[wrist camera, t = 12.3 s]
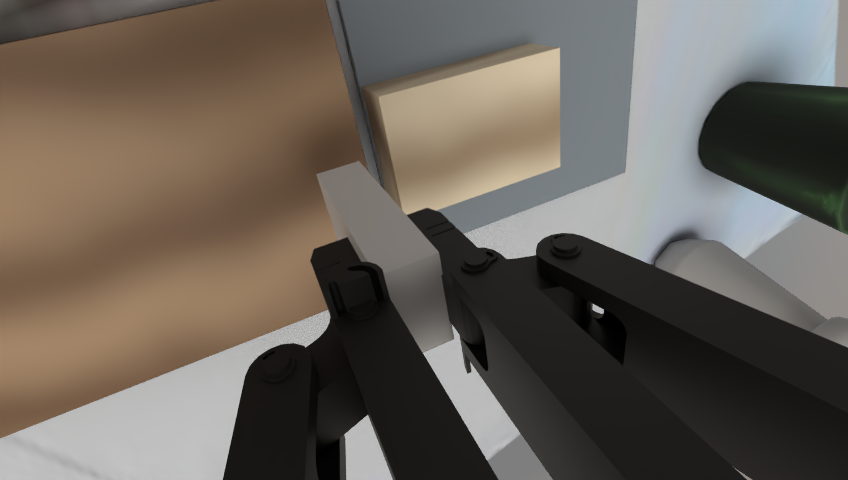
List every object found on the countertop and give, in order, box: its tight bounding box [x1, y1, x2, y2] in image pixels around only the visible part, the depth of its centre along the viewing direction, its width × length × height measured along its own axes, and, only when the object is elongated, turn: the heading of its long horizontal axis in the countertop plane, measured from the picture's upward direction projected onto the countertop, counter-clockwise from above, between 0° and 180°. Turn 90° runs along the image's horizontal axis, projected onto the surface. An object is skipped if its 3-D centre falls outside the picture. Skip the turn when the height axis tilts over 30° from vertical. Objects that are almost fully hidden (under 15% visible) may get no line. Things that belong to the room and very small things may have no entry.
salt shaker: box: [655, 239, 848, 347], centre depth 32 cm, size 6×6×13 cm
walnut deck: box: [0, 0, 368, 438], centre depth 19 cm, size 14×20×2 cm
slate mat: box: [337, 0, 637, 233], centre depth 24 cm, size 14×16×1 cm
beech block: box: [362, 43, 560, 215], centre depth 23 cm, size 6×9×2 cm, turn 100°
